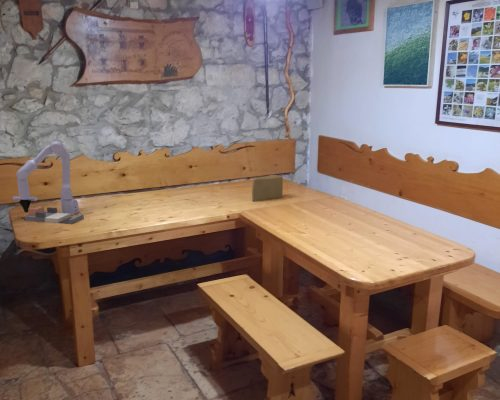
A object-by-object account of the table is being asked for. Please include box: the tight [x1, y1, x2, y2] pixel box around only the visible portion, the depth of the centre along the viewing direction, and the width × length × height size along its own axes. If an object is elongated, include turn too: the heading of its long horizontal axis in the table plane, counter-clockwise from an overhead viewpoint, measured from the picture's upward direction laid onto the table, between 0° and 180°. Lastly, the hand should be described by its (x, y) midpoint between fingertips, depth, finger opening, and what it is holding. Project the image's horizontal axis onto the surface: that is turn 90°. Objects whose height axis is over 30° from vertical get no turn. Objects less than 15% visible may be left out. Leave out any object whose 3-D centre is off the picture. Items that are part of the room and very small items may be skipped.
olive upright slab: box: [251, 174, 284, 202], centre depth 333 cm, size 22×10×15 cm, turn 127°
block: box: [28, 205, 45, 216], centre depth 297 cm, size 6×6×4 cm
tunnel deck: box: [23, 206, 85, 225], centre depth 294 cm, size 32×11×6 cm, turn 74°
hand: (26, 212), depth 299 cm, fingers closed
